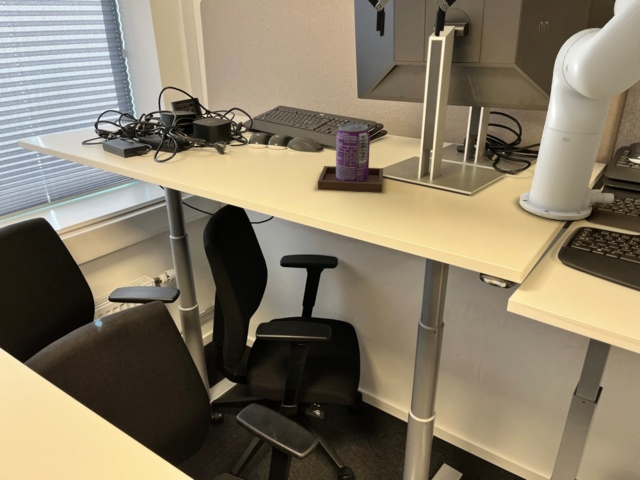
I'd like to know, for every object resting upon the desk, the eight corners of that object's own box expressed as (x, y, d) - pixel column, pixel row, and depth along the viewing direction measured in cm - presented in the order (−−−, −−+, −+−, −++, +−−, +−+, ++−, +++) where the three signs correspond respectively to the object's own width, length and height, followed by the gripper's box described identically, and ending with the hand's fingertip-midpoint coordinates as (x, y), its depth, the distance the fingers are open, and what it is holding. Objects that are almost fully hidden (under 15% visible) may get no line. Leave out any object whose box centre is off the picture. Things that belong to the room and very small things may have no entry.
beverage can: (368, 175, 106) (370, 123, 100) (367, 187, 100) (370, 131, 94) (337, 175, 107) (337, 122, 101) (334, 186, 100) (335, 130, 95)
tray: (382, 176, 107) (383, 168, 106) (381, 192, 98) (382, 183, 97) (324, 173, 109) (324, 165, 108) (317, 189, 100) (317, 181, 99)
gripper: (362, -82, 73) (359, 37, 81) (477, -86, 70) (461, 37, 78) (365, -76, 79) (361, 34, 87) (470, -79, 77) (456, 34, 85)
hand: (409, 35), depth 83 cm, fingers open, 9 cm apart
